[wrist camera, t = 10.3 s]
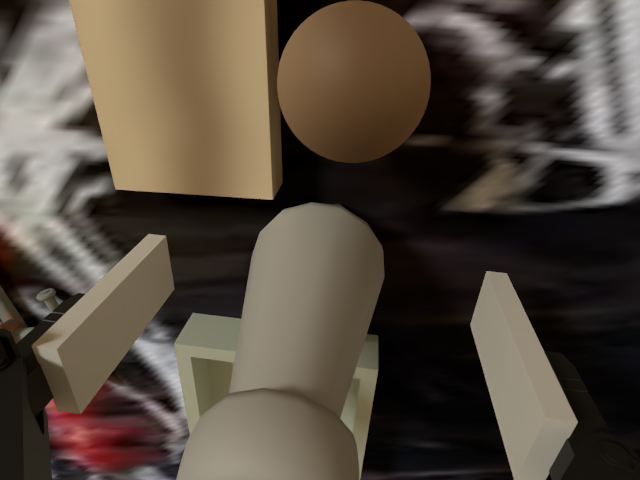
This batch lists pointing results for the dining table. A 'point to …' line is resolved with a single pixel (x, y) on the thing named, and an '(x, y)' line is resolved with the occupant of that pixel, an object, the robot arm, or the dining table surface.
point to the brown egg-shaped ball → (353, 81)
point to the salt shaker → (294, 353)
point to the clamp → (12, 319)
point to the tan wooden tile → (186, 93)
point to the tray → (217, 366)
